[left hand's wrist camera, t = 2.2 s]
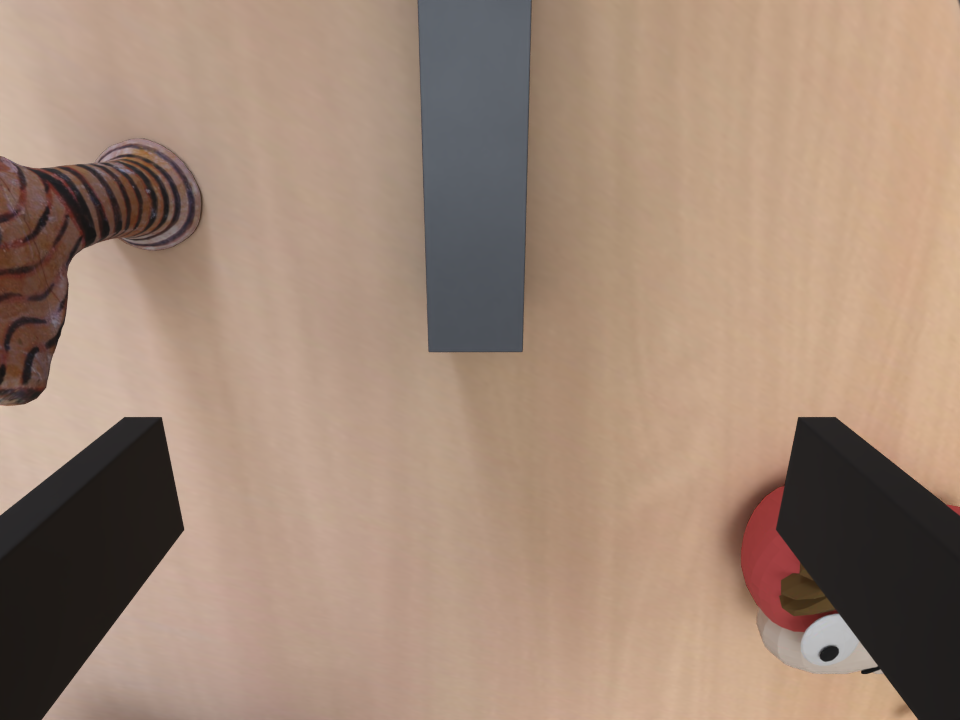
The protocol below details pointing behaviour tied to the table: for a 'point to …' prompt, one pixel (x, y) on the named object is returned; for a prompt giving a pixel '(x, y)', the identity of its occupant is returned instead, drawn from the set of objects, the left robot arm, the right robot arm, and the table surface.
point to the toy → (796, 602)
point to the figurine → (76, 241)
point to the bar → (475, 170)
